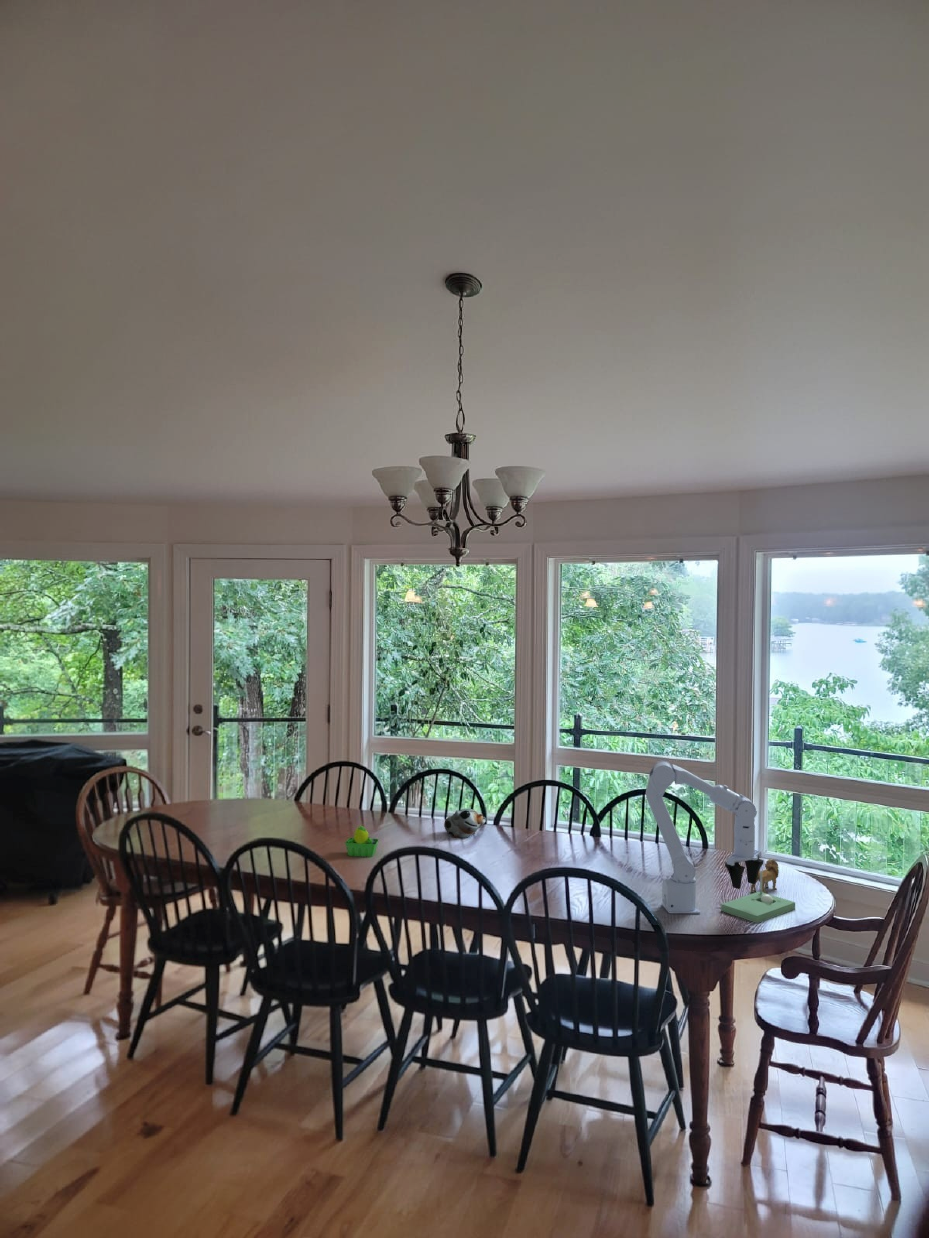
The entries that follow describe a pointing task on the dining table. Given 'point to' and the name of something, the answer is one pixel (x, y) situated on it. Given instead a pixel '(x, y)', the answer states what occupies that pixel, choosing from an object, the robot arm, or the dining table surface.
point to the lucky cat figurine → (464, 823)
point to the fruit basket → (361, 844)
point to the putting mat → (757, 905)
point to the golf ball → (766, 899)
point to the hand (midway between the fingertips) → (744, 885)
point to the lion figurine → (768, 875)
